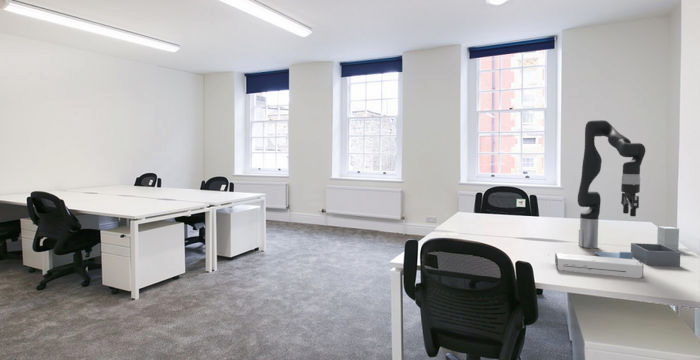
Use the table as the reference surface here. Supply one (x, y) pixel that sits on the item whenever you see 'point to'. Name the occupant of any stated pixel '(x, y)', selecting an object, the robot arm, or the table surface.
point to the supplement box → (668, 237)
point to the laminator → (599, 265)
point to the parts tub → (655, 254)
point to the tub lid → (616, 255)
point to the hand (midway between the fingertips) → (629, 214)
